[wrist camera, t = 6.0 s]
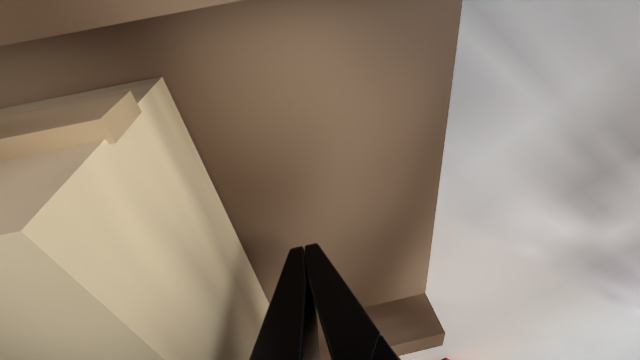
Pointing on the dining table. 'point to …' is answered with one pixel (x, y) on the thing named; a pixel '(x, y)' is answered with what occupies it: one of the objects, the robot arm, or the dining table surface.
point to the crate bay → (281, 121)
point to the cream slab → (117, 235)
